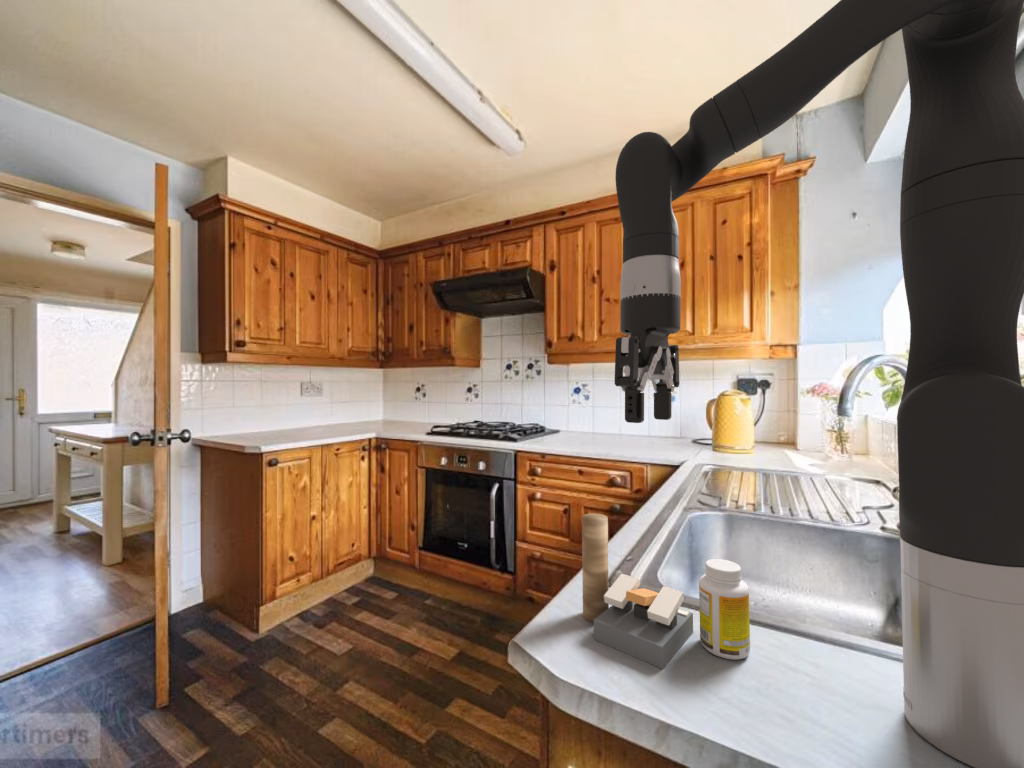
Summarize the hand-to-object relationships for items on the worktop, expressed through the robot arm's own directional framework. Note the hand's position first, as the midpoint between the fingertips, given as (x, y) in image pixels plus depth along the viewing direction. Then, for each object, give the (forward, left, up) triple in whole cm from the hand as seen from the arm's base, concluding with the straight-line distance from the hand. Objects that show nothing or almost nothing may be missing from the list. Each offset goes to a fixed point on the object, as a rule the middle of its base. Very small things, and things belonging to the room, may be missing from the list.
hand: (649, 420), depth 56 cm
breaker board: (+1, 0, -28) cm, 28 cm away
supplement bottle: (-8, -4, -28) cm, 29 cm away
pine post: (+8, 0, -28) cm, 29 cm away
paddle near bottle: (-2, 0, -23) cm, 24 cm away
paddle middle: (+1, 0, -23) cm, 24 cm away
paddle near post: (+4, 0, -23) cm, 24 cm away
